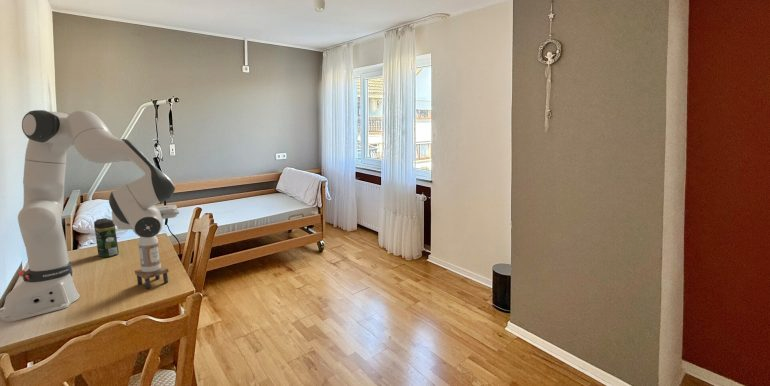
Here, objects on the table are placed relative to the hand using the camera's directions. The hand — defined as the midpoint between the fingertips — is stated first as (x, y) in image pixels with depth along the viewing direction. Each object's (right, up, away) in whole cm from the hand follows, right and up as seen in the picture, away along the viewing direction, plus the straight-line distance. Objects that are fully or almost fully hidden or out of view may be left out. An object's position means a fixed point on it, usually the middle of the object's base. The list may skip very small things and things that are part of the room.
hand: (145, 209), depth 144 cm
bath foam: (-7, -26, +15) cm, 31 cm away
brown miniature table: (-7, -32, +16) cm, 36 cm away
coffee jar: (-50, -25, +50) cm, 75 cm away
